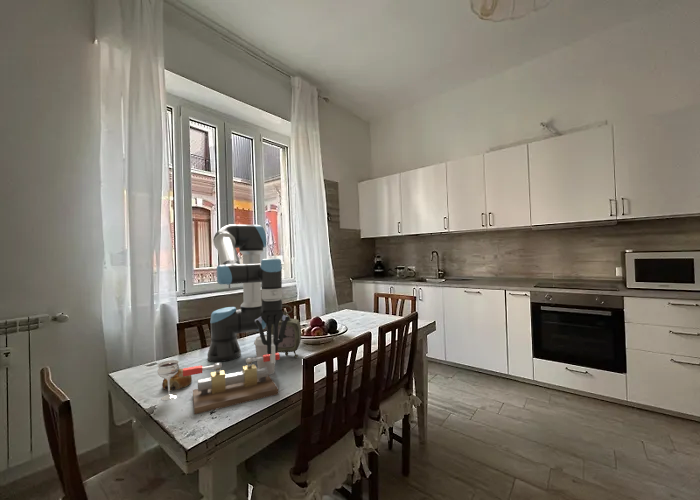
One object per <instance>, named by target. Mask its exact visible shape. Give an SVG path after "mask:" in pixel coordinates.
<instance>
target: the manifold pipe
mask: <svg viewBox="0 0 700 500" xmlns="http://www.w3.org/2000/svg"><path fill="white" fill-rule="evenodd" d="M241 369H242V370H241V371H237V372H236V371H235V372H232V373H228V374H227V373H225V370H224V369H222V370H221V369H219V370H215V371H212V372H210V377H206V378H201V379H197V389H198V392H200V391H201V395H206V394H208V390H209V389H211V391H212V394H214V393H219V392H224V391H226V386H228V385H233V384H237V383H242V382H243V384H244V386H245V387H246V386H251V385H255V384H257V379H259V381H260V383H261V382H265V381H266V377H268V368H267V367H261V368H258V367H257V366H256V365H255V363H254V364H253V363H251V364H247V365H243V366H242V368H241Z"/></svg>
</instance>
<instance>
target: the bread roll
mask: <svg viewBox="0 0 700 500" xmlns="http://www.w3.org/2000/svg"><path fill="white" fill-rule="evenodd" d="M192 376H193V375H189V376H183V368H179V371H178V373H177V374H176V375H175V376H174V377H172V378H171V379H170V392H171V391H176V390H180V389H184V388H186V387H188V386H190V385H191V383H193V382H192V381H193V378H192ZM161 386H162V388H163V390H165V391H168V380H166V379H164V378H163V380H162V384H161Z"/></svg>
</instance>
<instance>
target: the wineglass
mask: <svg viewBox="0 0 700 500" xmlns="http://www.w3.org/2000/svg"><path fill="white" fill-rule="evenodd" d="M179 363H180V361H179V360H177V359H175V360H174V359H173V360H166V361H163V362H160V363H158V364H157V367H158V368H157V375H158V376H159V377H160V378H161V379H163V380H164V379H166V380H168V390H167V391H168V394H166V395H164V396H161V398H160V399H161V401H170V400H174V399H176V398H177V397H178V395H177V394H176V393H171V391H170V379H171V378H172V377H174V376H175V375H176V374H177V373H178V371H179V369H180V364H179Z"/></svg>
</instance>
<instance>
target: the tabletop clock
mask: <svg viewBox="0 0 700 500" xmlns="http://www.w3.org/2000/svg"><path fill="white" fill-rule="evenodd" d="M284 307H287V308H289V309H290V311H286V310H284V311H283V314H284V315H285V316H288V317H289V320H288V322H287V324H286V328H285V333H284V338H283V342H280V343H279V344H278V352H277V353H281V354H282V353H283V354H285V356H288V355H289V353H292V352H293V354H294V358H295V359H298V357H299V355H298V354H297V353H296V351H298V349H299V346H300V345H301V341H302V328H301V323H300V320H299V319H297V318H291V316H290V315H289V314H290V313H292V311H293V308H292V306H291V305H287V304H282V308H284ZM281 323H282V318H281V320H280V321H279V323H278V337H279V332H280V328H281ZM271 335H273V324H272V327H271Z"/></svg>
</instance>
